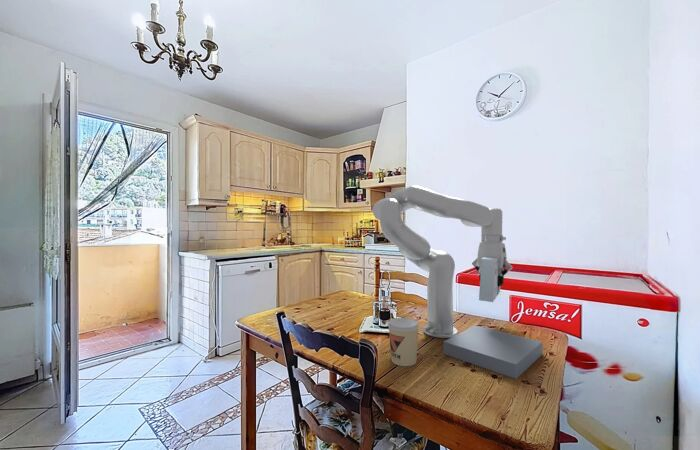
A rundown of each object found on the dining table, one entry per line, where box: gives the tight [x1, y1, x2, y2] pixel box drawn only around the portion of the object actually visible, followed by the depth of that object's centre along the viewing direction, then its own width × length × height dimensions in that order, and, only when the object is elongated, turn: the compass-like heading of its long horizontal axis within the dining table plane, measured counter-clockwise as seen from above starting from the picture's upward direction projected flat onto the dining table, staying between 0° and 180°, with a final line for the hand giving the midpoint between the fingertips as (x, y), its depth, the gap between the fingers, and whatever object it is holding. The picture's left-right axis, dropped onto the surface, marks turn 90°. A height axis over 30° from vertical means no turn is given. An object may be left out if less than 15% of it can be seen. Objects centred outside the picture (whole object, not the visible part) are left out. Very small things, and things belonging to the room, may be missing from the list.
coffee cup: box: [388, 317, 420, 367], centre depth 95 cm, size 9×9×12 cm
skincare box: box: [478, 257, 501, 303], centre depth 121 cm, size 21×6×16 cm, turn 147°
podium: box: [442, 324, 543, 380], centre depth 98 cm, size 22×22×4 cm
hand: (491, 283), depth 121 cm, fingers closed on skincare box, 6 cm apart
